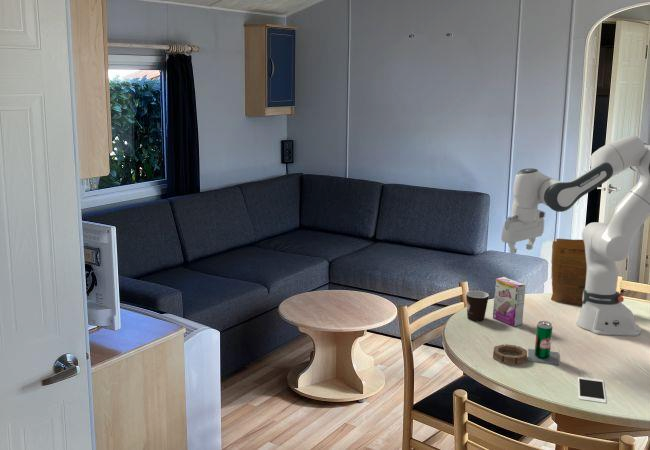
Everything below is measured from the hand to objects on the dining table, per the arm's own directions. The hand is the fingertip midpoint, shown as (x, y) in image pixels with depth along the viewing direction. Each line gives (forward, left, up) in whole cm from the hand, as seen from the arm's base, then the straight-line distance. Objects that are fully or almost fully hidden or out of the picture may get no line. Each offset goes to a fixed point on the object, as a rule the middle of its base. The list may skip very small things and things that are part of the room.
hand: (521, 251), depth 261 cm
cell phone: (-24, +42, -32) cm, 58 cm away
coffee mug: (+15, -11, -31) cm, 36 cm away
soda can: (-9, +21, -31) cm, 39 cm away
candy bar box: (+3, -10, -31) cm, 33 cm away
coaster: (-10, +21, -31) cm, 39 cm away
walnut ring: (+1, +25, -31) cm, 40 cm away
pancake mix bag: (-22, -40, -31) cm, 55 cm away
